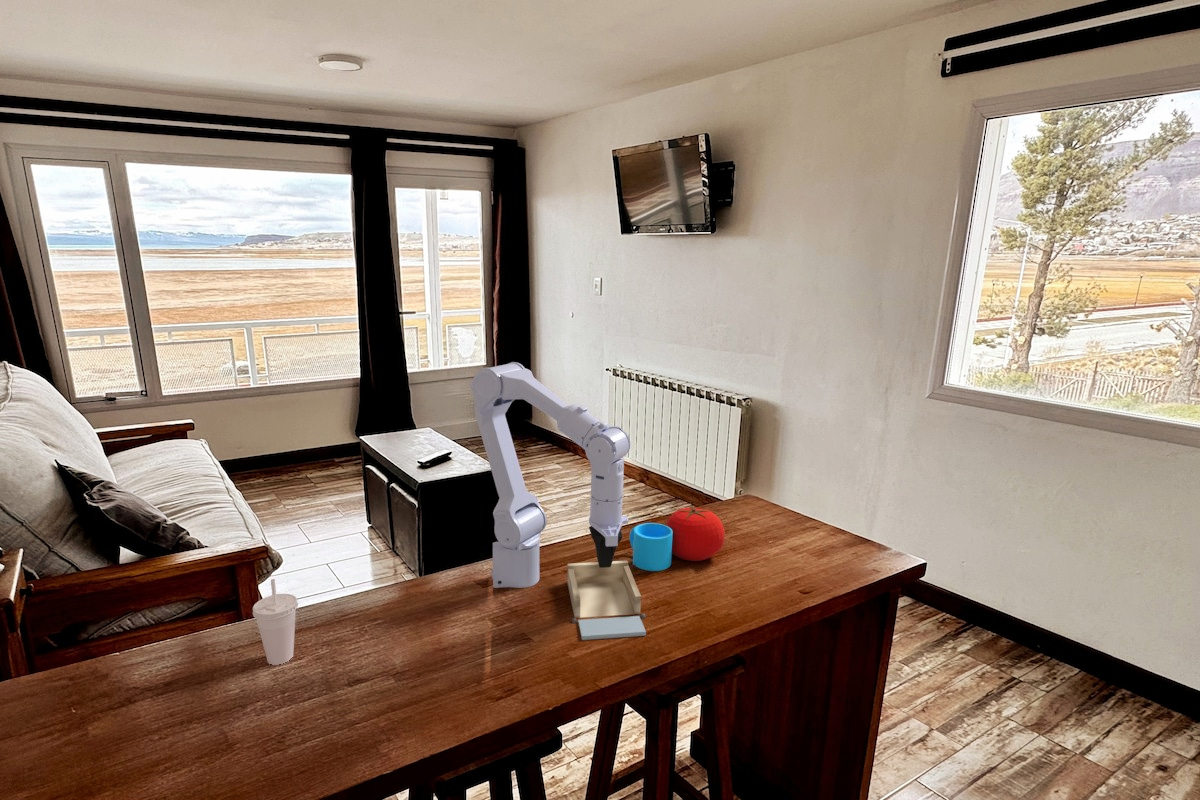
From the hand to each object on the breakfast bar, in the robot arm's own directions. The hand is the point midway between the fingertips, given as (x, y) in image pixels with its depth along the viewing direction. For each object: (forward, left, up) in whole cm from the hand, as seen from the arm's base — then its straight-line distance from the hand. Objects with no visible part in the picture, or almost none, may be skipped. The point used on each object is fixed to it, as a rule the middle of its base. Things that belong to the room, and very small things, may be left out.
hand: (604, 565), depth 116 cm
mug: (+12, +18, -9) cm, 23 cm away
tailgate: (0, -5, -8) cm, 9 cm away
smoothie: (-54, -8, -9) cm, 55 cm away
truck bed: (0, +3, -9) cm, 9 cm away
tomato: (+23, +20, -9) cm, 32 cm away
